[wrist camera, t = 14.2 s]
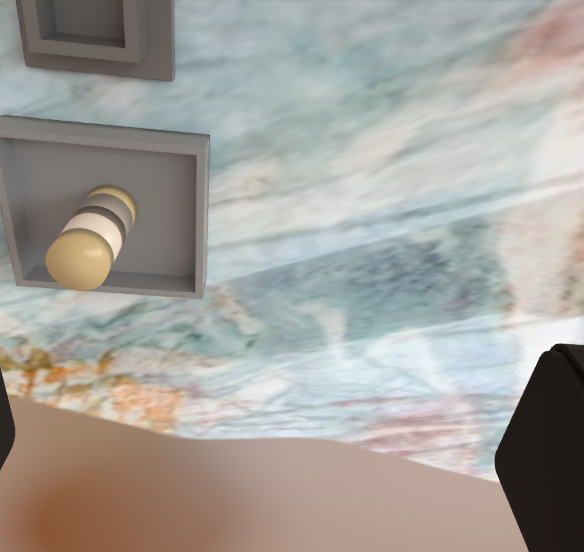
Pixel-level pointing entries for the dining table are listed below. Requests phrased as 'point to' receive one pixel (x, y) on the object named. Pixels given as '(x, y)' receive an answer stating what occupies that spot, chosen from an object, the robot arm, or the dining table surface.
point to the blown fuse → (92, 239)
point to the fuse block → (100, 36)
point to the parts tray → (108, 171)
